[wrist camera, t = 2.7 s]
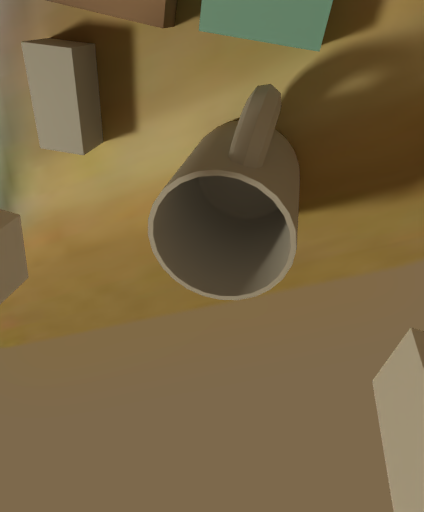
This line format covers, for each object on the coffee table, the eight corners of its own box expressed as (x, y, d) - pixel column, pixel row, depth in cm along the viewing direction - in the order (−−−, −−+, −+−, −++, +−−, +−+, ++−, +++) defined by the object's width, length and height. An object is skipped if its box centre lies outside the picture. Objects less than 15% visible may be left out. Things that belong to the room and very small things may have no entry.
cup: (184, 203, 27) (139, 274, 20) (216, 53, 21) (169, 78, 14) (278, 233, 27) (267, 317, 20) (337, 89, 21) (352, 134, 14)
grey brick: (51, 37, 23) (21, 41, 21) (96, 43, 23) (71, 48, 20) (64, 135, 26) (40, 148, 24) (104, 141, 26) (83, 155, 24)
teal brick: (211, 27, 21) (198, 30, 18) (219, -41, 19) (205, -47, 17) (318, 45, 20) (319, 51, 18) (335, -23, 19) (339, -27, 16)
